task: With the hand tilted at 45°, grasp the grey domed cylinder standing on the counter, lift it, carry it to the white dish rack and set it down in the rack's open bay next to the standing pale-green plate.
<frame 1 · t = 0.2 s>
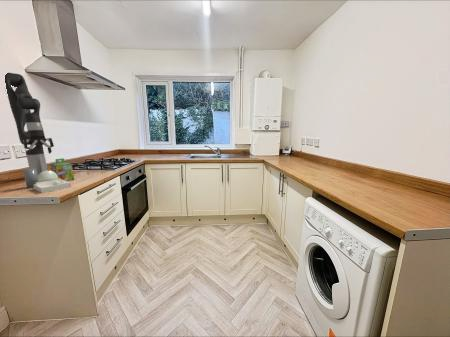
hand: (41, 154, 130), 18 cm above the worktop, tool pointing down, fingers open, 8 cm apart
grey domed cylinder: (33, 187, 117), on the worktop
chalk box: (64, 180, 131), on the worktop
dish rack: (52, 188, 113), on the worktop
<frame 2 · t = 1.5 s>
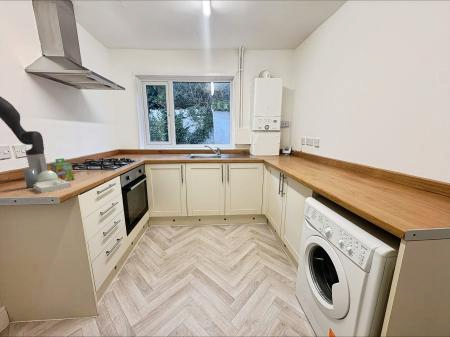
nothing on the worktop moved.
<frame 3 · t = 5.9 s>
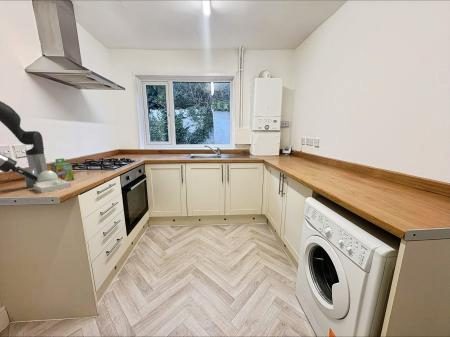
hand: (35, 178, 117), 5 cm above the worktop, tool tilted 45°, fingers closed on grey domed cylinder, 5 cm apart
grey domed cylinder: (33, 187, 117), on the worktop, touching gripper
everything else where it was.
when the fingers open (6 cm above the worktop, at t = 11.3 s): grey domed cylinder stays where it is, resting on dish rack.
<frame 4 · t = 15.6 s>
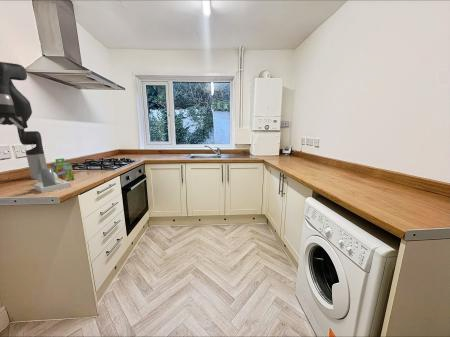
hand: (10, 136, 100), 30 cm above the worktop, tool pointing down, fingers open, 8 cm apart
grey domed cylinder: (50, 187, 111), point 1 cm above the worktop, touching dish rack
everything else where it was.
at the end: grey domed cylinder inside the target area on the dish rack (0.5 cm from its centre), point 0.8 cm above the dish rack's base; grey domed cylinder tilted 0°; the gripper is holding nothing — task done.
